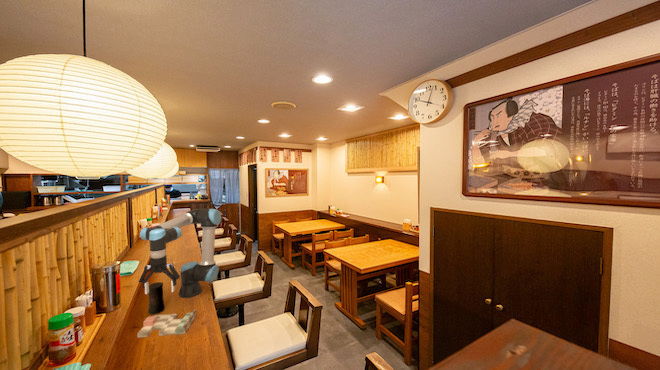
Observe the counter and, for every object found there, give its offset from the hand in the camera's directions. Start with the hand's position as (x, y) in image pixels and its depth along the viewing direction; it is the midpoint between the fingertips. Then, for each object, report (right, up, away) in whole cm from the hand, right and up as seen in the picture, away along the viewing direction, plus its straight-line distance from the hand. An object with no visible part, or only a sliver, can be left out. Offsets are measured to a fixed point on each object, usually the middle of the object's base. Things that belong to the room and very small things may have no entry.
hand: (160, 292), depth 143 cm
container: (-18, -23, +22) cm, 37 cm away
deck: (0, -24, +7) cm, 25 cm away
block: (-10, -21, +5) cm, 24 cm away
